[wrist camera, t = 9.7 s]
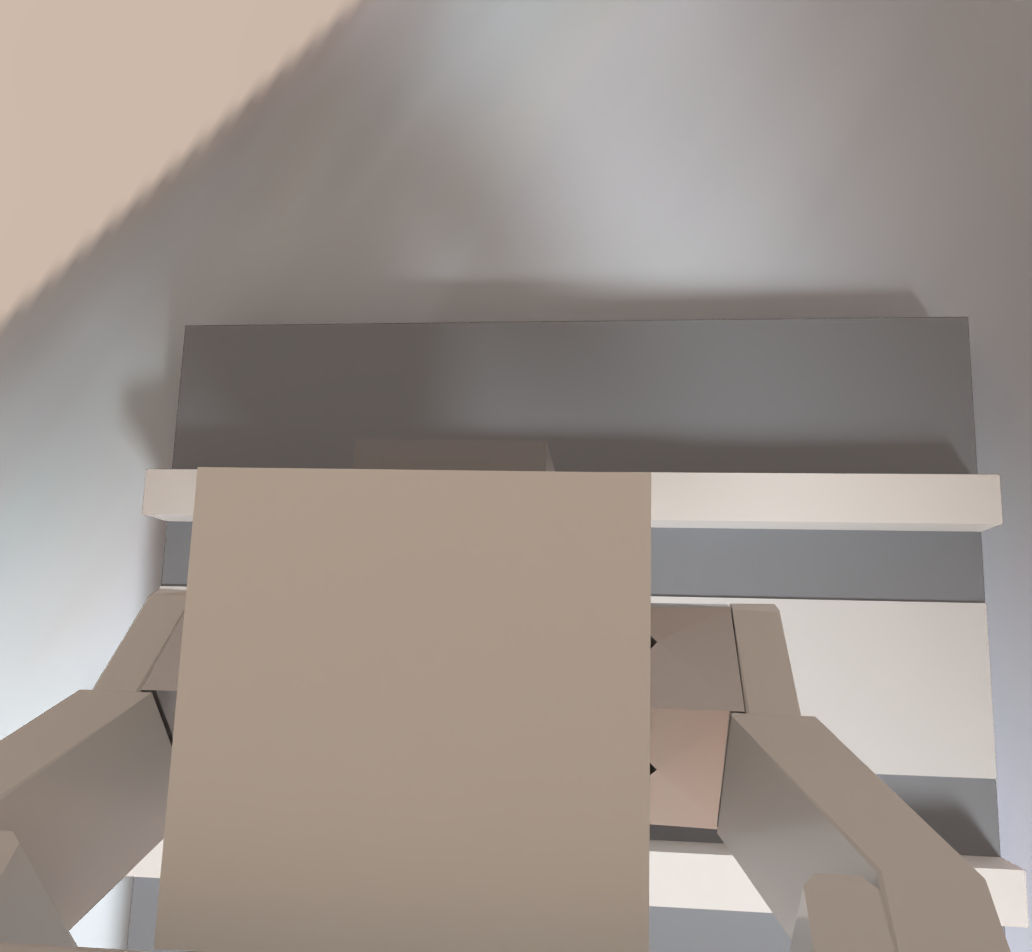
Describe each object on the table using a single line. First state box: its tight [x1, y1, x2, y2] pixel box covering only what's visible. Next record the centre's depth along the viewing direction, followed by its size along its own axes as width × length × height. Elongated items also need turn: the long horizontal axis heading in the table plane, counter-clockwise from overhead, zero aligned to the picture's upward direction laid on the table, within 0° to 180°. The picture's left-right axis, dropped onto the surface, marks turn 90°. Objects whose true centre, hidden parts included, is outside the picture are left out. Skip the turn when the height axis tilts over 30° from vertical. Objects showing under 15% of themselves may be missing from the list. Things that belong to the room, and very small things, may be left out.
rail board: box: [126, 317, 1029, 952], centre depth 21 cm, size 18×16×3 cm
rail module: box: [154, 439, 651, 952], centre depth 12 cm, size 4×5×8 cm
